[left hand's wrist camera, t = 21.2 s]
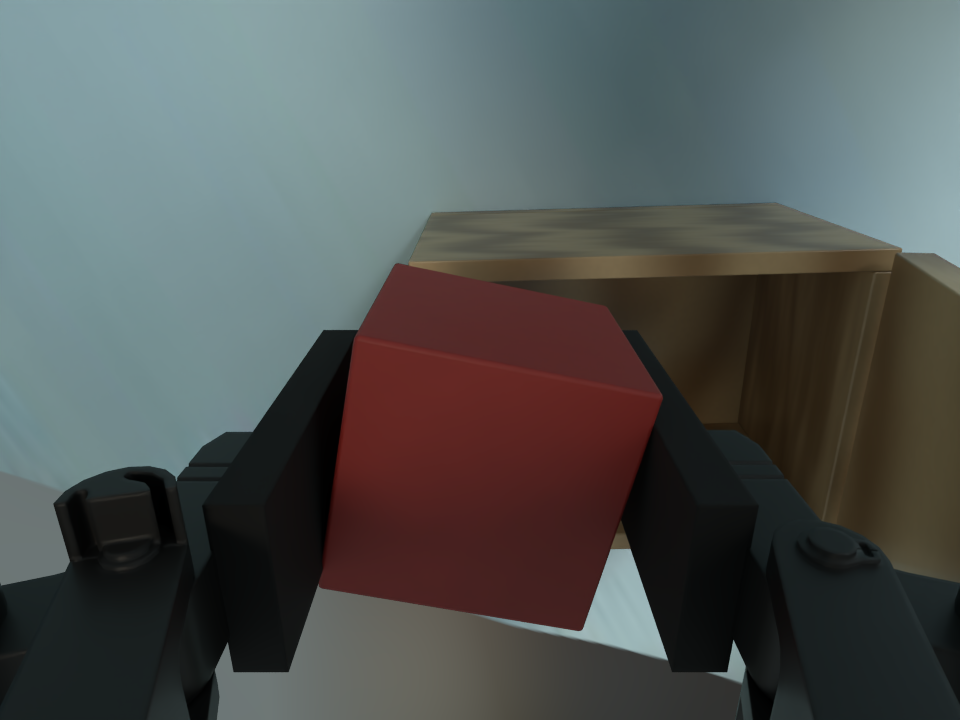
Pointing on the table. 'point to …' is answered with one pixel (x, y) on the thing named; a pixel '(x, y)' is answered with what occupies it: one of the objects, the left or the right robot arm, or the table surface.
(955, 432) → the lid
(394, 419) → the block
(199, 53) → the table surface
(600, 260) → the chest
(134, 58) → the table surface
